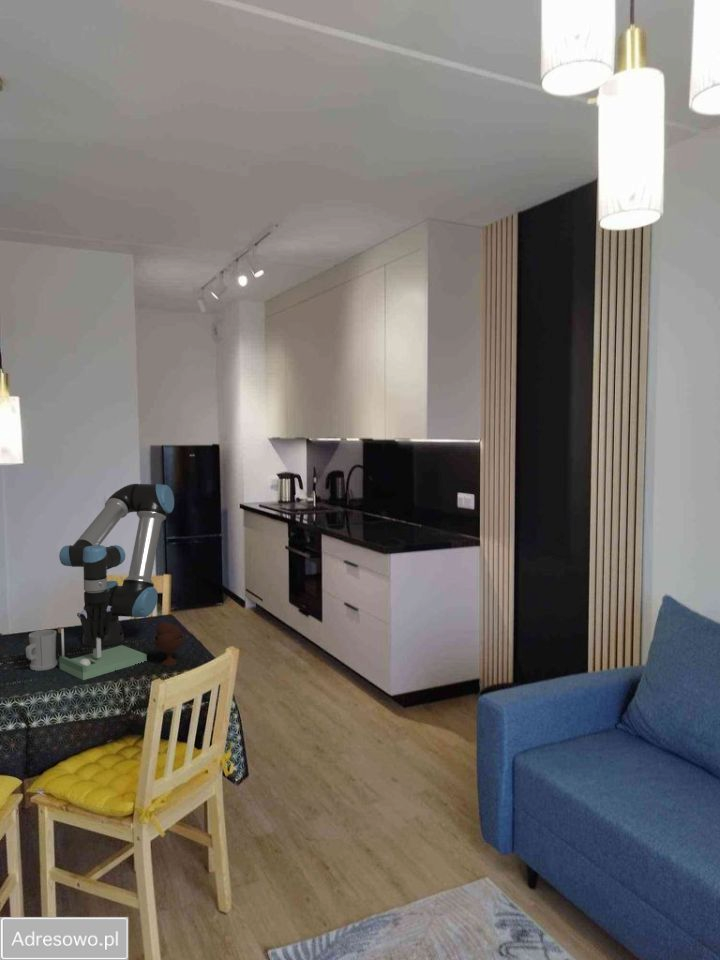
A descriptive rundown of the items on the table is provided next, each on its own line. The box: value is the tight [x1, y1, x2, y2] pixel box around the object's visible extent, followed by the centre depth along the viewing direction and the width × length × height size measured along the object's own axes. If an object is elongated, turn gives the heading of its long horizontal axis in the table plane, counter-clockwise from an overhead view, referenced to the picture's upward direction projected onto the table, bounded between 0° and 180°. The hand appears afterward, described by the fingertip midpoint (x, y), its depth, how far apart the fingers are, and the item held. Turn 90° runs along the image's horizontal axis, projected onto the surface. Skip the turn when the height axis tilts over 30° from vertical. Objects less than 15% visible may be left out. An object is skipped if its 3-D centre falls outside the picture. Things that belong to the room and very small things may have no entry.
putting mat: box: [57, 626, 148, 681], centre depth 238 cm, size 17×24×14 cm
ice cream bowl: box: [152, 621, 186, 667], centre depth 240 cm, size 11×11×15 cm
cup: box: [25, 629, 58, 672], centre depth 235 cm, size 10×9×12 cm
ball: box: [79, 659, 91, 666], centre depth 232 cm, size 4×4×4 cm
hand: (97, 656), depth 236 cm, fingers closed
